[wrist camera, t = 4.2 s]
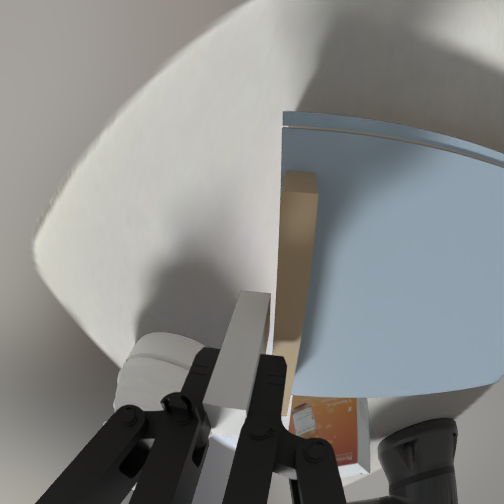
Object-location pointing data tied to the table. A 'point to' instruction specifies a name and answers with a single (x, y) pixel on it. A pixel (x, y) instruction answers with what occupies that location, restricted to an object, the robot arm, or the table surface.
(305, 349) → the lid
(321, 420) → the small box
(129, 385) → the honey pot
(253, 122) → the table surface
